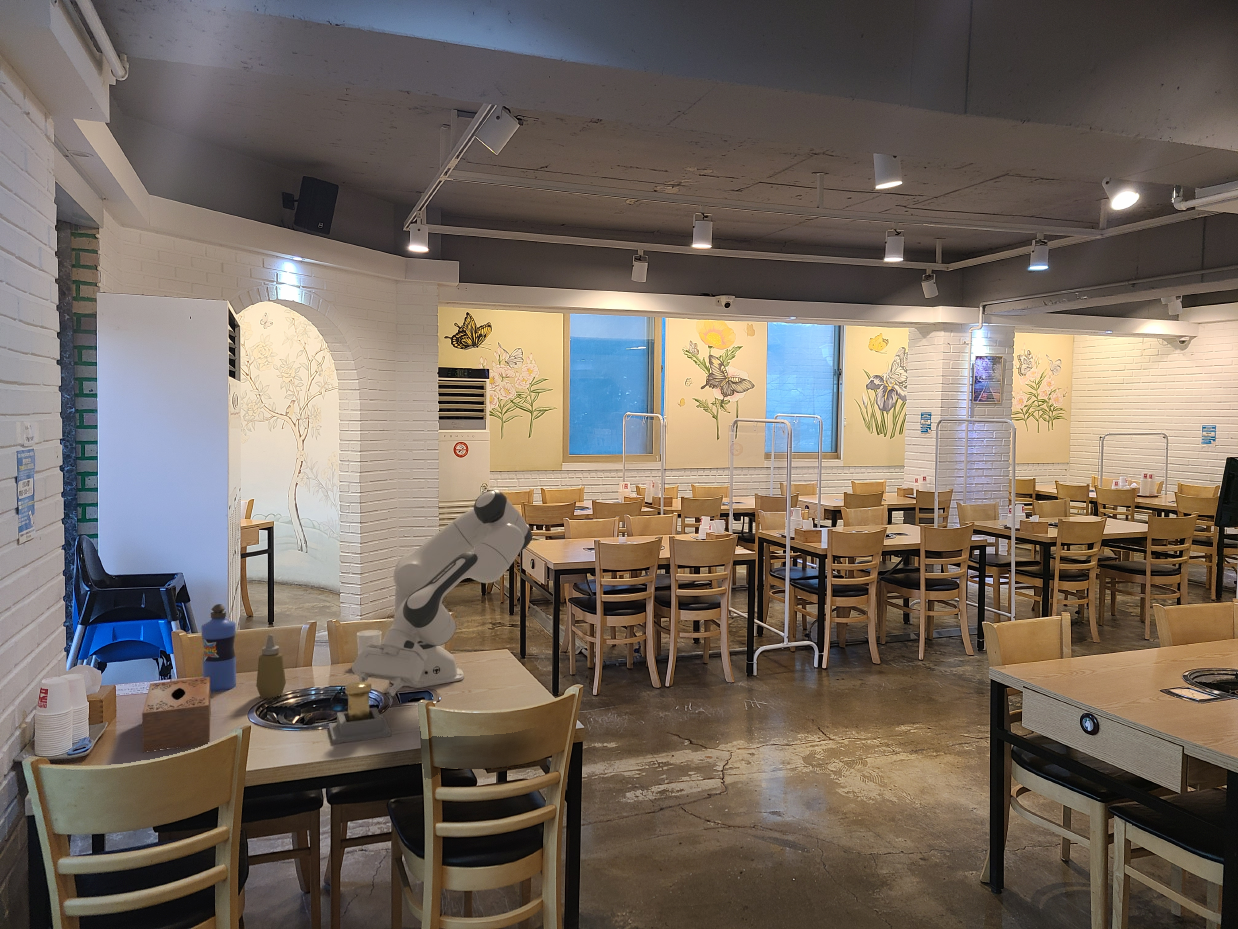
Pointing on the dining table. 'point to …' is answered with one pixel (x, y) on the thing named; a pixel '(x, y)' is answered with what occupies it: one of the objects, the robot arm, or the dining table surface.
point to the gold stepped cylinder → (358, 700)
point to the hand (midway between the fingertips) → (375, 692)
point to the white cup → (368, 639)
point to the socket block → (358, 728)
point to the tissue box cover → (177, 714)
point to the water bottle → (219, 650)
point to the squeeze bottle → (270, 671)
